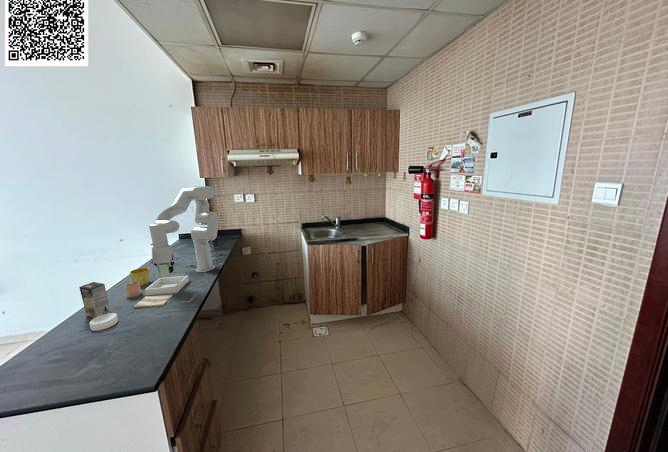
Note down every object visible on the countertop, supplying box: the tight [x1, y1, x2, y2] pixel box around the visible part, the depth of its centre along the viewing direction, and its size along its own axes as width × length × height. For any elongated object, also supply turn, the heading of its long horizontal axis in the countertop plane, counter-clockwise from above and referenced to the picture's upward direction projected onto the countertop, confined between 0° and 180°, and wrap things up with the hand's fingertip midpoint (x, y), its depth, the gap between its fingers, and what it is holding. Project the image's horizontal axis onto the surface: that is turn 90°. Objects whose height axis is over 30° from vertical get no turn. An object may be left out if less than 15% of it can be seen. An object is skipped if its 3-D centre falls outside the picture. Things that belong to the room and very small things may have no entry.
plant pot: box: [129, 267, 151, 287], centre depth 168 cm, size 10×10×10 cm
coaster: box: [89, 312, 119, 332], centre depth 124 cm, size 10×10×4 cm
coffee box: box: [78, 281, 111, 319], centre depth 132 cm, size 9×6×16 cm
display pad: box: [132, 293, 175, 309], centre depth 145 cm, size 12×15×1 cm
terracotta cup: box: [124, 280, 143, 299], centre depth 152 cm, size 7×7×8 cm
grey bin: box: [144, 275, 190, 297], centre depth 160 cm, size 17×17×4 cm
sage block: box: [158, 263, 174, 277], centre depth 159 cm, size 5×5×7 cm
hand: (166, 272), depth 159 cm, fingers closed on sage block, 5 cm apart
